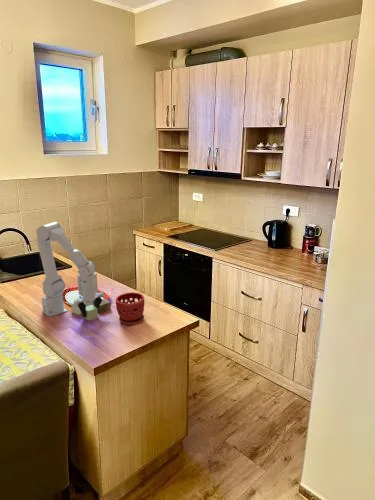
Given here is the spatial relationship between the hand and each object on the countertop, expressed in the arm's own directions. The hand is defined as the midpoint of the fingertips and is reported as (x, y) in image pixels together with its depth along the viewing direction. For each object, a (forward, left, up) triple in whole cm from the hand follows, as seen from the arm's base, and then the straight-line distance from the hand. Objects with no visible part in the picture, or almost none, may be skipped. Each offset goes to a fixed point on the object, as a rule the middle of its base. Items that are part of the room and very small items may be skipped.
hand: (90, 314), depth 173 cm
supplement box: (+12, +23, -2) cm, 26 cm away
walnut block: (+9, +4, -2) cm, 10 cm away
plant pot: (+12, -16, -2) cm, 20 cm away
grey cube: (-1, +9, -2) cm, 9 cm away
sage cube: (0, 0, -2) cm, 2 cm away
